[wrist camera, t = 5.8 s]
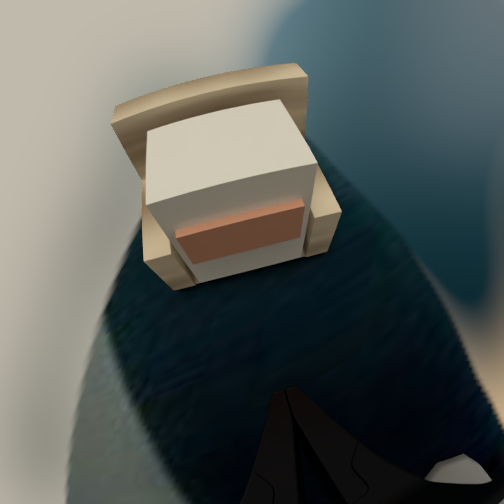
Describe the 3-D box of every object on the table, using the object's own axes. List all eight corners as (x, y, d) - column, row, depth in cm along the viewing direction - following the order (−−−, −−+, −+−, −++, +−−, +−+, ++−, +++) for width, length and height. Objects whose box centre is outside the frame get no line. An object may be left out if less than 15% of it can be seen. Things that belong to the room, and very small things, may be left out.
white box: (302, 262, 18) (321, 169, 10) (201, 288, 18) (146, 213, 10) (279, 199, 21) (279, 99, 13) (190, 221, 20) (147, 131, 12)
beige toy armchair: (324, 257, 20) (363, 143, 10) (178, 294, 19) (95, 209, 9) (289, 172, 23) (292, 60, 14) (168, 203, 23) (116, 102, 13)
